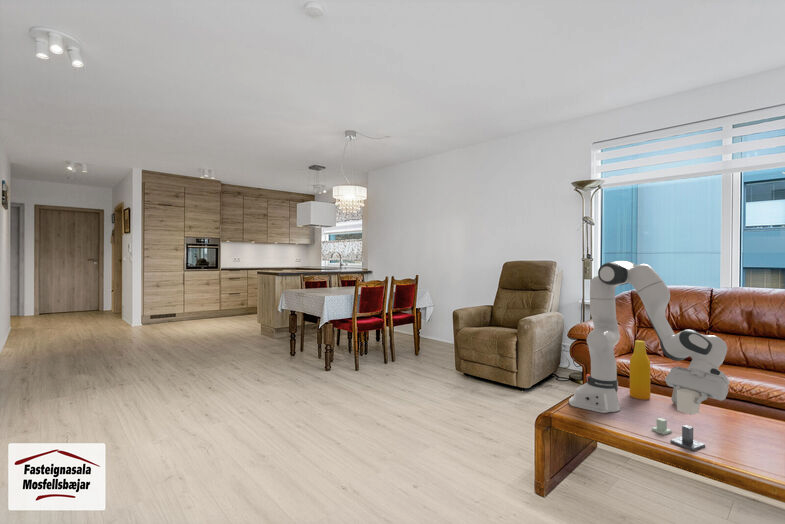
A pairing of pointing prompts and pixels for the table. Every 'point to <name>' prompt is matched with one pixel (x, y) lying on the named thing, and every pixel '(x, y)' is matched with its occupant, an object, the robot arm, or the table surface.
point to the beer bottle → (640, 372)
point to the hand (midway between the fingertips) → (687, 400)
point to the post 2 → (687, 439)
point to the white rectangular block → (687, 401)
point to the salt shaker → (674, 397)
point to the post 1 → (662, 427)
